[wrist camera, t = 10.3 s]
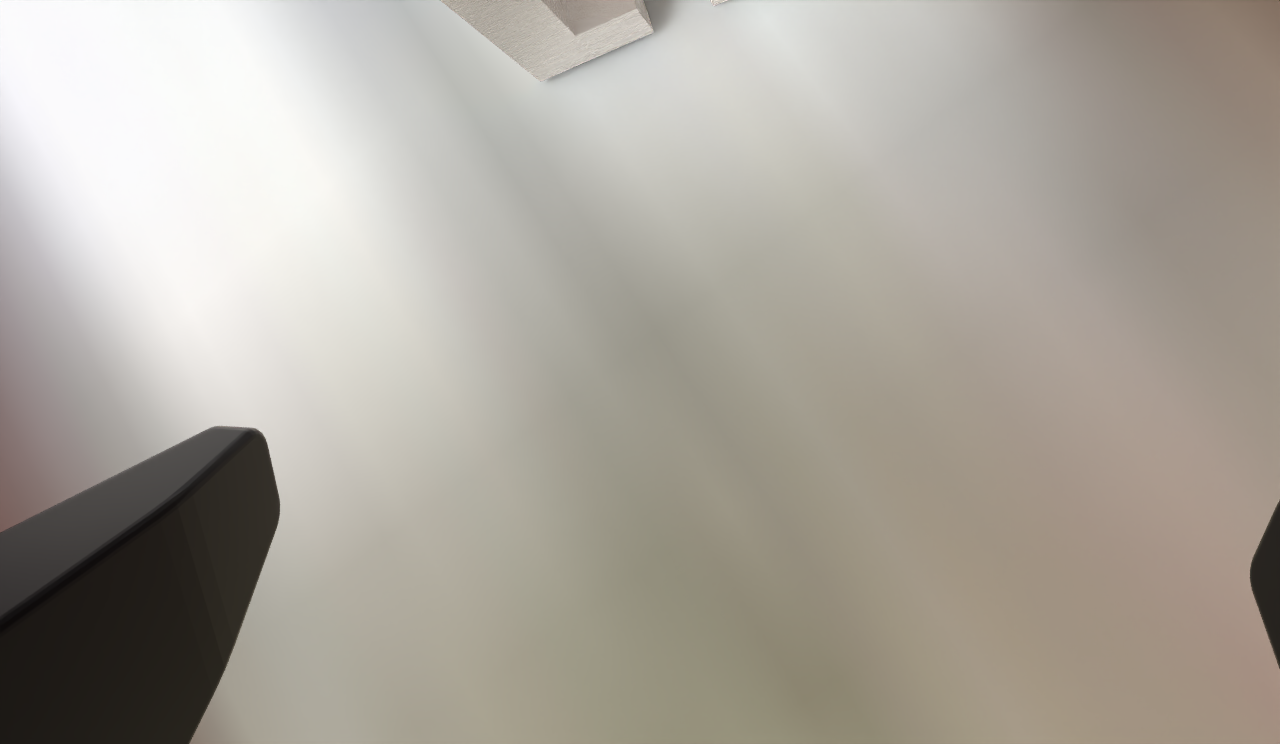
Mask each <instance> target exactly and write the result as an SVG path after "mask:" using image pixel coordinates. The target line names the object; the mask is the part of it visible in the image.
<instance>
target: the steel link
mask: <svg viewBox="0 0 1280 744" xmlns="http://www.w3.org/2000/svg"><path fill="white" fill-rule="evenodd" d="M441 1H442V2H443V3H444V4H445V5H447V6H448V7H449V8H450V9H452V10H453V11H454V12H455V13H457V14H458V15H459V16H460V17H461V18H463V19H464V20H465V21H466V22H468V23H469V24H470V25H471V26H473V27H474V28H475V29H476V30H477V31H479V32H480V33H481V34H482V35H484V36H485V37H486V38H487V39H489V40H490V41H491V42H492V43H493V44H495V45H496V46H497V47H498V48H500V49H501V50H502V51H503V52H505V53H506V54H507V55H508V56H509V57H511V58H512V59H513V60H514V61H516V62H517V63H518V64H519V65H521V66H522V67H523V68H524V69H525V70H527V71H528V72H529V73H530V74H532V75H533V76H534V77H535V78H537V79H538V80H539V81H540V82H541V81H543V80H546V79H548V78H550V77H553V76H555V75H557V74H560V73H562V72H564V71H566V70H569V69H571V68H573V67H576V66H578V65H580V64H582V63H585V62H587V61H589V60H592V59H594V58H596V57H598V56H601V55H603V54H605V53H608V52H610V51H612V50H615V49H617V48H619V47H621V46H624V45H626V44H628V43H631V42H633V41H635V40H637V39H640V38H642V37H644V36H647V35H649V34H651V33H653V32H654V31H653V28H652V25H651V22H650V19H649V16H648V13H647V10H646V6H645V3H644V0H441ZM710 1H711V3H712V4H713V6H715V5H718V4H720V3H722V2H725V1H727V0H710Z"/></svg>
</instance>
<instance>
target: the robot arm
mask: <svg viewBox="0 0 1280 744" xmlns="http://www.w3.org/2000/svg"><path fill="white" fill-rule="evenodd" d="M279 515H280V500H279V494H278V490H277V485H276V481H275V476H274V472H273V467H272V463H271V458H270V454H269V449H268V445H267V442H266V439H265V437H264V435H263V434H262V433H261V432H260V431H259V430H257V429H255V428H247V427H230V426H215V427H211V428H209V429H207V430H205V431H203V432H201V433H199V434H197V435H195V436H193V437H191V438H189V439H187V440H185V441H183V442H181V443H179V444H177V445H175V446H173V447H171V448H169V449H167V450H165V451H163V452H161V453H159V454H157V455H155V456H153V457H151V458H149V459H147V460H145V461H143V462H141V463H139V464H137V465H135V466H133V467H131V468H129V469H127V470H125V471H123V472H121V473H119V474H117V475H115V476H113V477H111V478H109V479H107V480H105V481H103V482H101V483H99V484H97V485H95V486H93V487H91V488H89V489H87V490H85V491H83V492H81V493H79V494H77V495H75V496H73V497H71V498H69V499H67V500H65V501H63V502H61V503H59V504H57V505H55V506H53V507H51V508H49V509H47V510H45V511H43V512H41V513H39V514H37V515H35V516H33V517H31V518H29V519H27V520H25V521H23V522H21V523H19V524H17V525H15V526H13V527H11V528H9V529H7V530H5V531H3V532H1V533H0V744H189V743H190V741H191V739H192V737H193V735H194V733H195V731H196V729H197V727H198V725H199V723H200V721H201V719H202V717H203V715H204V713H205V711H206V709H207V707H208V705H209V703H210V701H211V699H212V697H213V695H214V692H215V690H216V688H217V686H218V684H219V682H220V679H221V677H222V675H223V673H224V671H225V668H226V666H227V663H228V661H229V658H230V656H231V653H232V651H233V648H234V646H235V643H236V640H237V637H238V634H239V632H240V629H241V626H242V623H243V620H244V618H245V615H246V612H247V609H248V607H249V604H250V601H251V598H252V595H253V593H254V590H255V587H256V584H257V581H258V579H259V576H260V573H261V570H262V567H263V565H264V562H265V559H266V556H267V554H268V551H269V548H270V545H271V542H272V540H273V537H274V534H275V531H276V528H277V525H278V521H279ZM1250 581H1251V587H1252V591H1253V594H1254V597H1255V600H1256V603H1257V606H1258V608H1259V611H1260V614H1261V617H1262V620H1263V623H1264V625H1265V628H1266V631H1267V634H1268V637H1269V640H1270V643H1271V645H1272V648H1273V651H1274V654H1275V657H1276V660H1277V663H1278V665H1279V668H1280V501H1279V502H1278V504H1277V506H1276V508H1275V511H1274V513H1273V515H1272V517H1271V519H1270V522H1269V524H1268V526H1267V528H1266V530H1265V533H1264V535H1263V537H1262V539H1261V541H1260V544H1259V546H1258V548H1257V550H1256V552H1255V555H1254V557H1253V560H1252V563H1251V569H1250Z"/></svg>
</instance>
